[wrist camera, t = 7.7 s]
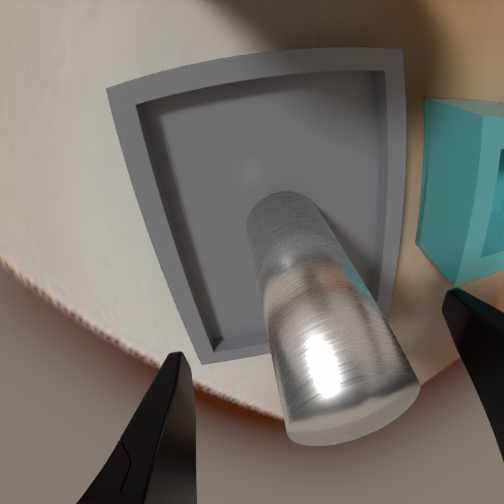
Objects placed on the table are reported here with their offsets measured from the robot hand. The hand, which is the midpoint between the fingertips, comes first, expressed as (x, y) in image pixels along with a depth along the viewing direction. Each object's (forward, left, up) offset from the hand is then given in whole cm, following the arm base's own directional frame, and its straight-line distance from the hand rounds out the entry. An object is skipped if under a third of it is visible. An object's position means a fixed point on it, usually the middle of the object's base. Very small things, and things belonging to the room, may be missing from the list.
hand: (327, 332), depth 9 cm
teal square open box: (-13, -1, -8) cm, 15 cm away
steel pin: (0, 0, -7) cm, 7 cm away
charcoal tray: (0, 0, -8) cm, 8 cm away
